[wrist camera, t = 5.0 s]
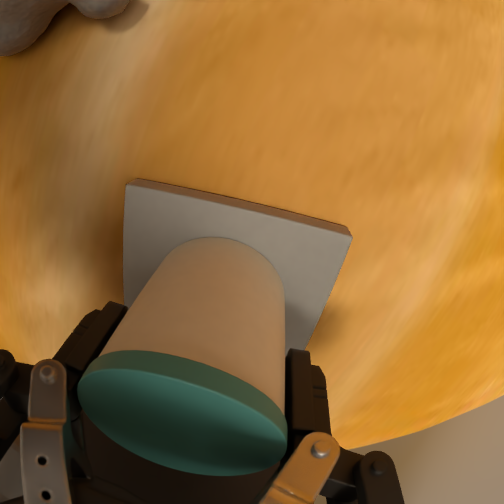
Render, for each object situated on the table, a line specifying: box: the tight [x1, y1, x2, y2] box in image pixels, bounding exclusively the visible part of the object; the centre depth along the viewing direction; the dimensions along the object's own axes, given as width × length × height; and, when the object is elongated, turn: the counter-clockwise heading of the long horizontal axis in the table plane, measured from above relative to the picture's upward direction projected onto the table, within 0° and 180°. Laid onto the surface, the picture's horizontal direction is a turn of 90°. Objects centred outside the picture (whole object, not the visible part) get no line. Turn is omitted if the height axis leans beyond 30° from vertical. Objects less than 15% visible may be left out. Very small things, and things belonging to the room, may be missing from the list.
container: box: [77, 237, 288, 476], centre depth 10 cm, size 6×6×8 cm
